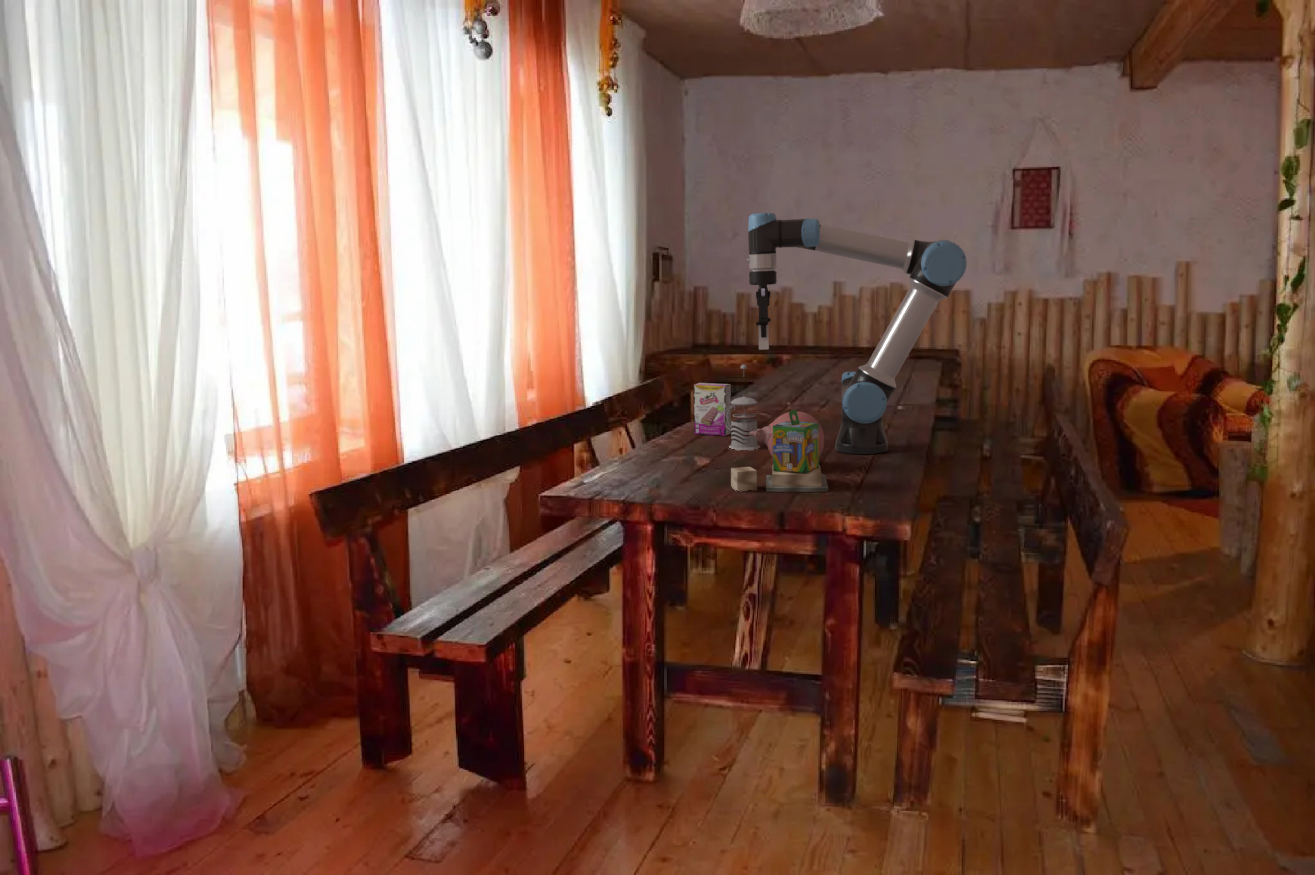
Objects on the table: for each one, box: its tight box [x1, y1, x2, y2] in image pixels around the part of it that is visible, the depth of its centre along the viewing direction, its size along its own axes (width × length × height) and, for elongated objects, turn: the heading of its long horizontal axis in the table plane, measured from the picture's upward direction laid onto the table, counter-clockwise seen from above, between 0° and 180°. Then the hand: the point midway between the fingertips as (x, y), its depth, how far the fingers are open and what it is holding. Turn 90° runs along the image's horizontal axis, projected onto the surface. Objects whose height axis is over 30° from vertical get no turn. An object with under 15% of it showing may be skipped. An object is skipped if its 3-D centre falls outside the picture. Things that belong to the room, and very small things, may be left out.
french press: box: [724, 364, 761, 451], centre depth 320 cm, size 10×12×25 cm
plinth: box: [765, 464, 829, 493], centre depth 268 cm, size 15×15×4 cm
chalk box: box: [772, 409, 820, 473], centre depth 267 cm, size 9×9×15 cm
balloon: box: [749, 410, 825, 458], centre depth 289 cm, size 15×20×15 cm
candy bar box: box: [693, 382, 732, 437], centre depth 344 cm, size 11×5×16 cm, turn 65°
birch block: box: [730, 466, 758, 492], centre depth 266 cm, size 5×5×5 cm
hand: (763, 347), depth 299 cm, fingers open, 13 cm apart
